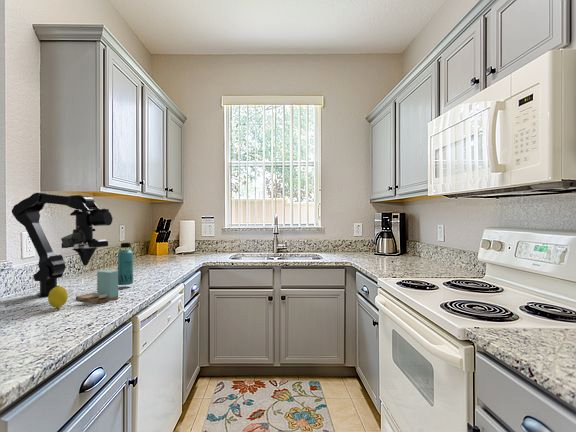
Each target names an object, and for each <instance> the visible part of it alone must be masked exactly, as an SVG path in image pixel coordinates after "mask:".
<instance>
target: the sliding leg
mask: <svg viewBox="0 0 576 432" xmlns="http://www.w3.org/2000/svg"><path fill="white" fill-rule="evenodd" d="M106 271H112V270H111V269H110V270H109V269H105V270H104V269H103V270H98V271H97V272H96V275H97V277H96V286H97V289H96V290H97V291H96V293H97V294H92V297H97V296H99V295H103V294H104V272H106Z"/></svg>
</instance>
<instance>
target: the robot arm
mask: <svg viewBox="0 0 576 432" xmlns="http://www.w3.org/2000/svg"><path fill="white" fill-rule="evenodd" d="M46 204H52V205H61V206H66V207H69V208H71V209H74V210H72V212H70V213H69V214H70V216H74V217H75V229H73V230H72V233H71V234H68V235H66V236H63V237H61V238H60V240H61V249H68V248H72V249H71V250H72V251H75V253H77V254H78V256H79V258H80V261H81V263H82V265H83V266H84V267H85V266H88V264H89V262H90V261H91V258H92V257H93V254H94V253H95V251H96V250H98V248H103V247H104V248H105V247H108V246H109V241H108V240H107V239H96V238H94V232H96V228H93V226H94V227H102V226H103V227H104V226H105V227H106V226H111V224H112V223H113V219H114V218H113V216H112V214H111V212H110V210H109V209H110V208H101V209H100V208H99V206H98V205H97V203H96V202H95V199H94V198H93V197H92V196H90V195H81V194H76V195H74V194H73V195H67V196H66V195H59V194H52V193H51V194H50V193H49V194H48V193H46V192H33V193H32V194H31V195H30V196H29V197H26V198H24V199H22V200H20V201H19V202H18V203H16V204H15V205H14V206H12V209H11V213H12V216H13V217H14V218H15V220H16V221H17V222H18V223H20V224H21V225H23V227H24V229H25V230H26V232H27V234H28V236H29V239H30V240H31V243H32V245H33V247H34V249H35V251H36V253H37V256H38V258H39V260H38V269H39V270H37V272H35V273H34V275H33V276H32V277H33V281H34V282H39V292H37V293H36V295H38V296H39V297H40V298H41V297H48V296H49V292H50V291H51V290H52V289H53V288H55V287H56V286H58V279H60V278H62V277H63V274H64V272H65V270H66V268H67V267H66V261H65V260H64V257H63V255H62V254H56V253H55V252H54V251H53V249H52V246H51V245H50V242H49V240H48V238H47V236H46V233H45V232H44V230H43V227H42V225H41V223H40V218H41V214H40V212H41V211H42V210H43V209H44V207H45V205H46Z"/></svg>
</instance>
